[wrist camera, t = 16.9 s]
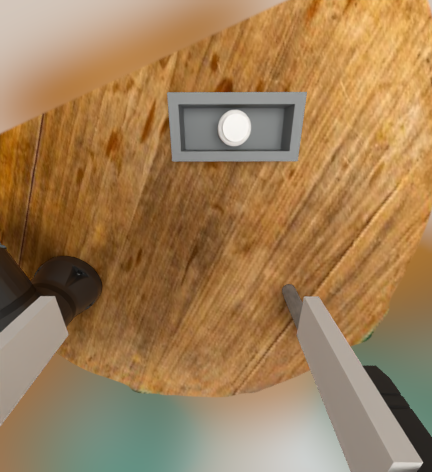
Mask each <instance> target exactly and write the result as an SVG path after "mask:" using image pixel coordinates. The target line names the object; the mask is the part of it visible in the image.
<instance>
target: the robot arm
mask: <svg viewBox="0 0 432 472" xmlns="http://www.w3.org/2000/svg"><path fill="white" fill-rule="evenodd" d="M6 249H7V248H6V246H4V245H2V244H1V243H0V426H1V425H2V423H3V422H4V421H5V419H6V418H7V416H8V415H9V414H10V413H11V411H12V410H13V409H14V407H15V406H16V405H17V403H18V402H19V401H20V399H21V398H22V397H23V395H24V394H25V393H26V391H27V390H28V389H29V387H30V386H31V384H32V383H33V381H35V379H36V377H38V375H39V374H40V372H41V371H42V370H43V368H44V367H45V366H46V364H47V363H48V362H49V360H50V359H51V358H52V356H53V355H54V354H55V352H56V351H57V350H58V348H59V347H60V346H61V344H62V343H63V342H64V340H65V339H66V338H67V336H68V332H67V329H66V327H67V326H68V324H69V323H70V322H71V320H72V319H73V318H74V317H75V316H77V315H78V314H80V313H81V312H83V311H84V310H86V309H88V308H89V307H91V306H92V305H93V304H94V303H95V302H96V300H97V299H98V298H99V296H100V294H101V291H102V284H101V280H100V278H99V276H98V274H97V273H96V271H95V270H94V269H93V268H92V267H91V266H90V265H88V264H87V263H85V262H84V261H82V260H79V259H77V258H74V257H69V256H58V257H54V258H52V259H50V260H48V261H47V262H45V263H44V264H43V265H41V266H40V267H39V268H38V270H37V271H36V273H35V276H34V278H33V279H32V280H31V281H30V280H29V279H28V277H27V276H26V275H25V273H24V272H23V271H22V270H21V268H20V267H19V266H18V264H17V263H16V262H15V260H14V259H13V258H12V257H11V255H10V254H9V253H8V251H7V250H6ZM297 337H298V340H299V343H300V345H301V348H302V350H303V353H304V355H305V358H306V360H307V363H308V365H309V368H310V370H311V373H312V375H313V378H314V380H315V383H316V385H317V388H318V390H319V393H320V395H321V398H322V400H323V402H324V405H325V408H326V410H327V413H328V415H329V418H330V420H331V423H332V425H333V428H334V431H335V433H336V436H337V438H338V441H339V443H340V446H341V448H342V450H343V453H344V456H345V458H346V461H347V463H348V465H349V468H350V471H351V472H432V437H431V435H430V434H429V433H428V431H427V430H426V428H425V427H424V426H423V424H422V423H421V421H420V420H419V419H418V417H417V416H416V414H415V413H414V412H413V410H412V409H410V407H409V404H408V403H407V402H406V400H405V399H404V397H403V396H401V395H400V392H399V390H398V389H397V388H396V386H395V385H394V384H393V382H392V381H391V379H390V378H389V377H388V376H387V375H386V374H384V373H383V372H382V371H381V370H380V369H379V368H378V367H377V366H362V365H361V363H360V361H359V360H358V358H357V357H356V355H355V354H354V352H353V350H352V349H351V347H350V345H349V344H348V342H347V341H346V339H345V338H344V336H343V334H342V333H341V331H340V330H339V328H338V326H337V325H336V323H335V322H334V320H333V318H332V317H331V315H330V314H329V312H328V311H327V309H326V307H325V306H324V304H323V303H322V301H321V299H320V298H319V297H304V300H303V305H302V310H301V315H300V321H299V326H298V331H297Z"/></svg>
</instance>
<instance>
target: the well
mask: <svg viewBox="0 0 432 472" xmlns="http://www.w3.org/2000/svg"><path fill="white" fill-rule="evenodd" d="M306 95H307V92H167V96H168V110H169V123H170V136H171V149H172V161H298V154H299V147H300V140H301V132H302V125H303V117H304V110H305V103H306ZM230 110H240V111H242V112H244V113H245V114H246V115H247V116H248V118H249V119H250V122H251V132H250V135H249V137H248V139H247V140H246V141H245V142H244V143H243V144H241V145H239V146H229V145H226V144H225V143H224V142H223V141H222V140H221V139H220V137H219V135H218V123H219V120H220V118H221V117H222V116H223V115H224V114H225V113H226V112H228V111H230Z"/></svg>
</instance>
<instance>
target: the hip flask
mask: <svg viewBox="0 0 432 472" xmlns="http://www.w3.org/2000/svg"><path fill="white" fill-rule="evenodd" d="M282 291H283V295H284V298H285V301H286V303H287V306H288V308H289V311H290V313H291V316H292V318H293V320H294V323H295V325H296V328H297V330H298V326H299V321H300V315H301V310H302V305H303V303H302V301H301V299H300V297H299V295H298V293H297V291H296V289H295V287H294V286H293V285H291V284H287V285H285V286H284V287H283V289H282Z"/></svg>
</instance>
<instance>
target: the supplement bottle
mask: <svg viewBox="0 0 432 472" xmlns="http://www.w3.org/2000/svg"><path fill="white" fill-rule="evenodd" d="M250 132H251V122H250V119H249V118H248V116H247V115H246V114H245V113H244V112H242V111H240V110H230V111H228V112H226V113H225V114H224V115H223V116H222V117H221V118H220V120H219V123H218V135H219V137H220V139H221V140H222V141H223V142H224V143H225V144H226V145H229V146H239V145H241V144H243V143H244V142H245V141H246V140H247V139H248V137H249V135H250Z"/></svg>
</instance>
